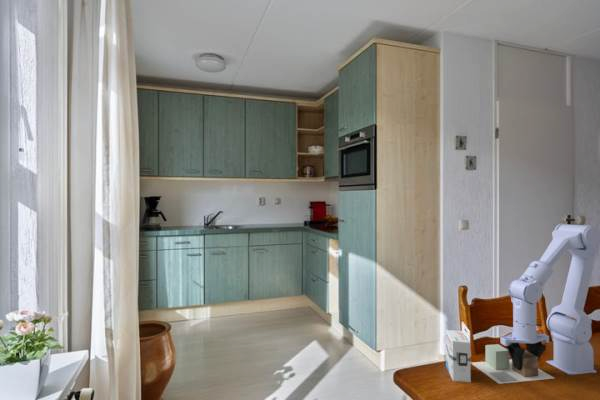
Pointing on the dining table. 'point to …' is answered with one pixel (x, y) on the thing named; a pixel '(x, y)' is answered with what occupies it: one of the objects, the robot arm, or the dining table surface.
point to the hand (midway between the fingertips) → (524, 367)
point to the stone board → (508, 373)
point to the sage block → (497, 356)
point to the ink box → (458, 354)
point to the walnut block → (528, 365)
